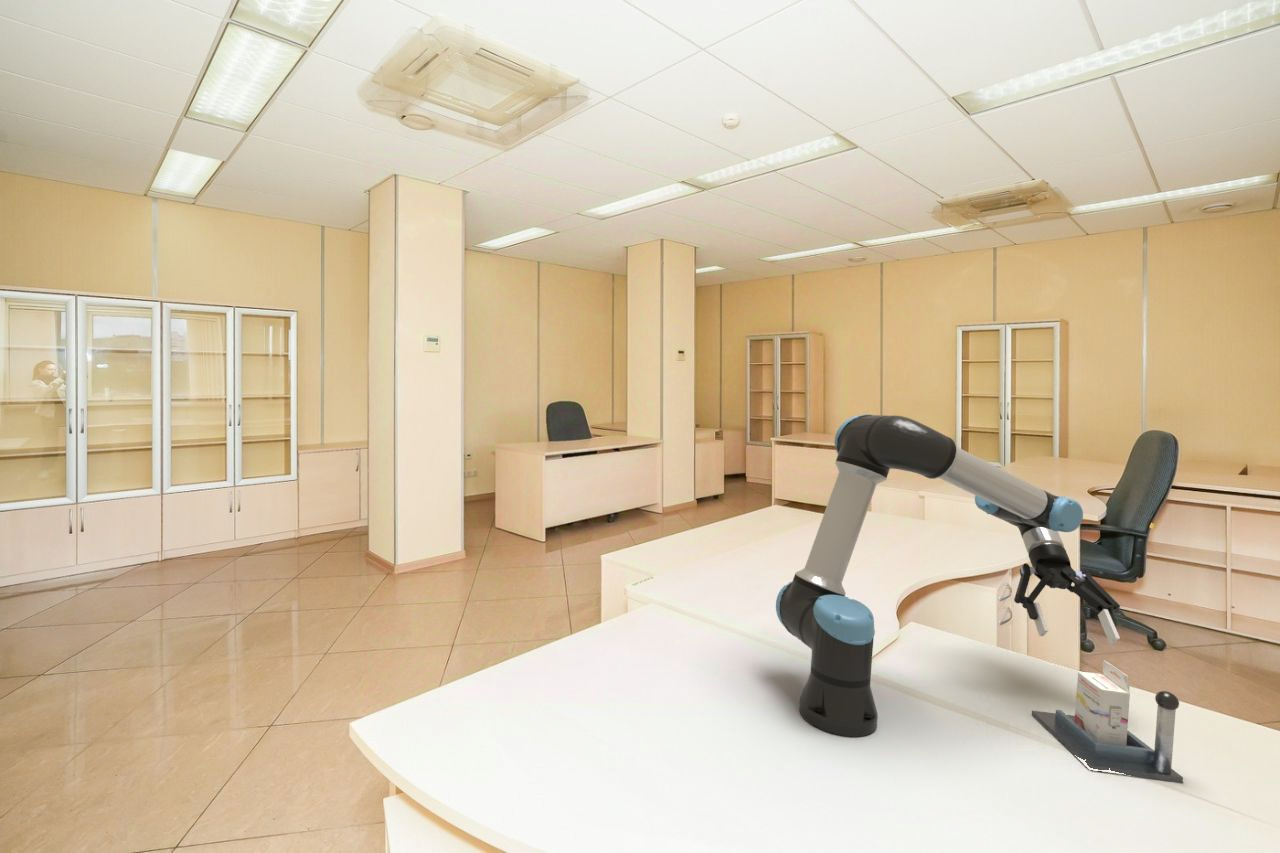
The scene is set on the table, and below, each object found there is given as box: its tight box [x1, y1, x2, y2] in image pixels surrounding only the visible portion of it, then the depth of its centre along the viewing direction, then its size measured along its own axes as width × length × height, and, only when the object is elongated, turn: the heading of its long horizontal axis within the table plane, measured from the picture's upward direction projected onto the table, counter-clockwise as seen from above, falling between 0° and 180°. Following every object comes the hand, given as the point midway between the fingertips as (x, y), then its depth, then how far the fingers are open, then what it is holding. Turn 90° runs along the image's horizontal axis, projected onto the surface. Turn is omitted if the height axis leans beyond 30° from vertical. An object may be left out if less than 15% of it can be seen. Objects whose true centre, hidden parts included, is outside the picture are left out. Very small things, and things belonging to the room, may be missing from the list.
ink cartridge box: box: [1074, 659, 1131, 746], centre depth 113 cm, size 9×5×15 cm, turn 171°
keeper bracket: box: [1031, 690, 1184, 784], centre depth 113 cm, size 15×20×15 cm
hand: (1079, 637), depth 122 cm, fingers open, 13 cm apart
